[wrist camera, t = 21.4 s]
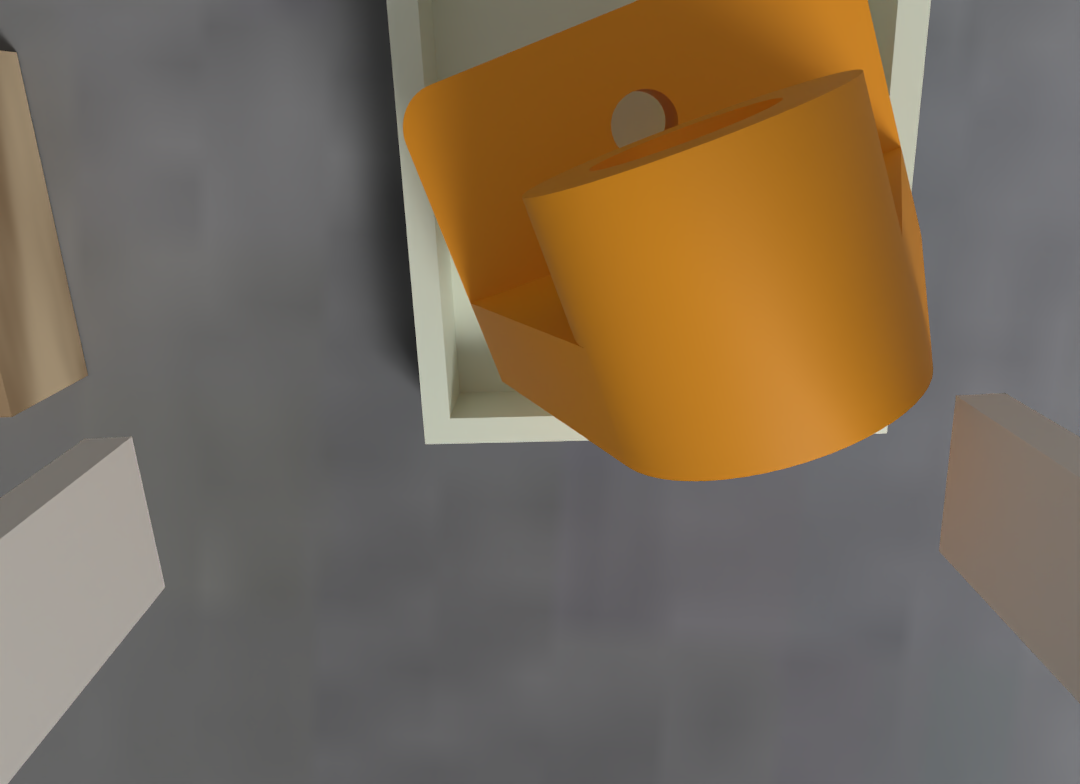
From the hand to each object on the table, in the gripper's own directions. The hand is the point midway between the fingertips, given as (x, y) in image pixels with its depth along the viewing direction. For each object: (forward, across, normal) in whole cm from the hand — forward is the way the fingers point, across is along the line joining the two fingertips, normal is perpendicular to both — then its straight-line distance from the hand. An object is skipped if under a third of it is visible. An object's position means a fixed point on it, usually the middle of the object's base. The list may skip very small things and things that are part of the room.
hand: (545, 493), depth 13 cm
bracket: (+11, +3, +4) cm, 12 cm away
